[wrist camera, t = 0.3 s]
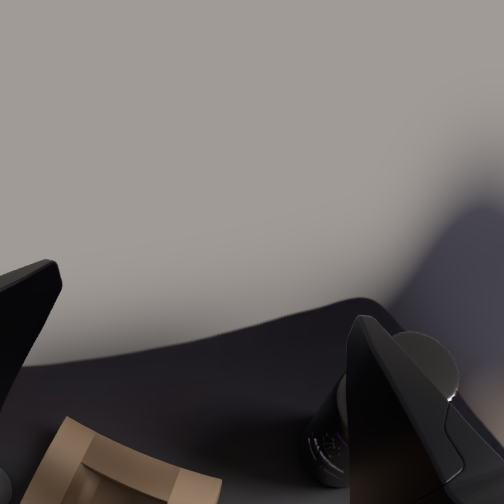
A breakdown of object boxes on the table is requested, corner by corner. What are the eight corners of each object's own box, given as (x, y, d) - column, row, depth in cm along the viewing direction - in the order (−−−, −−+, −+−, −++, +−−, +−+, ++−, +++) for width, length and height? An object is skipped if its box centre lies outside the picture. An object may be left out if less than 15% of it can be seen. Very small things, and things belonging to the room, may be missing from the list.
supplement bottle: (283, 476, 17) (344, 407, 10) (311, 404, 22) (366, 300, 15) (369, 497, 15) (478, 435, 8) (385, 425, 20) (467, 333, 13)
